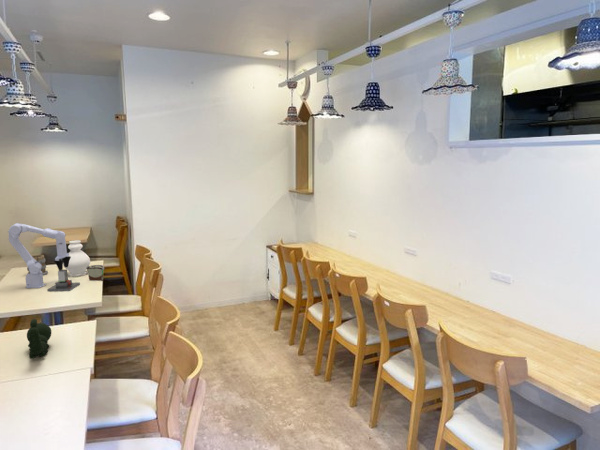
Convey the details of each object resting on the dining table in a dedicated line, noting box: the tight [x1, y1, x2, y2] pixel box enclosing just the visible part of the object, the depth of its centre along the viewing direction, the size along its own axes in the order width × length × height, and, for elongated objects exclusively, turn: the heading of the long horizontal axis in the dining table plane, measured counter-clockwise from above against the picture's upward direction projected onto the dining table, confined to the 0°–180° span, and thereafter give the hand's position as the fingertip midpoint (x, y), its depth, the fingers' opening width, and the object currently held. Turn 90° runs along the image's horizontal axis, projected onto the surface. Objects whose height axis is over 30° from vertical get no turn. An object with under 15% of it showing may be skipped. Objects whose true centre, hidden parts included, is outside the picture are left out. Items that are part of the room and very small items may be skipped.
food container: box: [85, 264, 105, 282], centre depth 292 cm, size 12×6×10 cm, turn 84°
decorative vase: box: [63, 239, 91, 277], centre depth 304 cm, size 18×18×25 cm
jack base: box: [46, 279, 81, 292], centre depth 273 cm, size 14×14×5 cm
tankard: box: [26, 254, 49, 277], centre depth 301 cm, size 20×13×15 cm, turn 25°
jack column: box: [57, 269, 69, 282], centre depth 272 cm, size 4×4×7 cm
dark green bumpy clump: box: [26, 318, 52, 360], centre depth 181 cm, size 9×19×25 cm
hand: (63, 268), depth 282 cm, fingers open, 7 cm apart
